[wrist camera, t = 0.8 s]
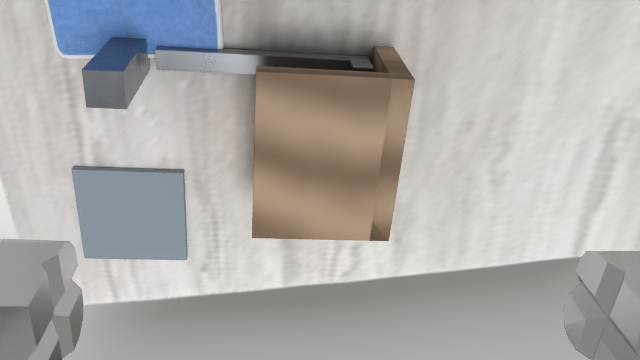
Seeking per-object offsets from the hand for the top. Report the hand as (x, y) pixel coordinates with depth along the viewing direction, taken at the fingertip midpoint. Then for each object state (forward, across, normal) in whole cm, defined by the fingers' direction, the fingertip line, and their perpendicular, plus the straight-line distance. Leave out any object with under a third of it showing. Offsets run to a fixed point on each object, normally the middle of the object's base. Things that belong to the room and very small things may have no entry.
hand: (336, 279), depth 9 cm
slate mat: (+37, +12, +21) cm, 44 cm away
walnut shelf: (+37, -3, +12) cm, 39 cm away
